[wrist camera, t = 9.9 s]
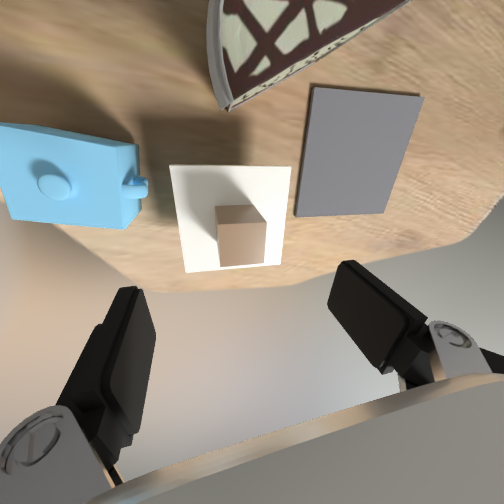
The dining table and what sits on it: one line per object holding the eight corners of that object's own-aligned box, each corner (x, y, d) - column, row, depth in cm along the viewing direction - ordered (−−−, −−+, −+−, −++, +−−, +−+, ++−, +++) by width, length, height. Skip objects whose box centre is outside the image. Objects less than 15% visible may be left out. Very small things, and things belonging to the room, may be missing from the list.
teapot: (19, 191, 19) (-74, 219, 13) (-5, 115, 16) (-139, 100, 10) (158, 208, 22) (141, 237, 16) (158, 147, 20) (137, 152, 13)
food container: (312, -46, 16) (445, -265, 7) (330, 54, 19) (436, -15, 10) (174, 36, 16) (143, -76, 8) (214, 120, 19) (224, 106, 11)
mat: (294, 216, 26) (296, 217, 26) (312, 88, 20) (314, 87, 19) (380, 212, 29) (383, 213, 28) (420, 98, 22) (424, 97, 22)
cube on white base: (170, 164, 16) (158, 174, 12) (287, 165, 18) (316, 174, 14) (186, 268, 21) (182, 304, 17) (277, 260, 23) (296, 290, 19)
